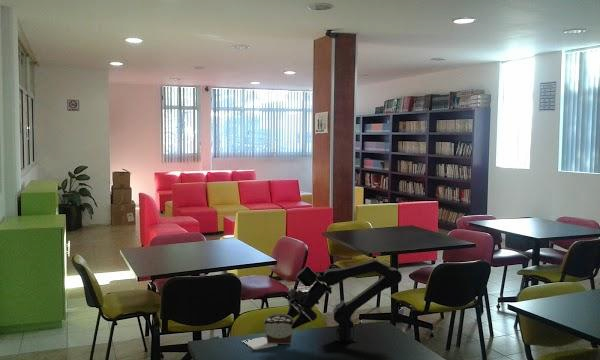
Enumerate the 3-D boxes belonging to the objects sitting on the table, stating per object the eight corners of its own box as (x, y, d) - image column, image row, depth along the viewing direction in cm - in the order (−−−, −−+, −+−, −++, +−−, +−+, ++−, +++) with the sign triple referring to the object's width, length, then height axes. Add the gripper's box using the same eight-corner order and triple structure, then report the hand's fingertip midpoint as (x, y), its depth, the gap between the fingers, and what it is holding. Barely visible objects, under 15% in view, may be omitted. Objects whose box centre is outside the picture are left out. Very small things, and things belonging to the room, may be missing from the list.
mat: (263, 337, 220) (263, 336, 220) (277, 345, 210) (277, 344, 210) (241, 341, 215) (241, 340, 215) (254, 350, 205) (254, 349, 205)
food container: (296, 336, 217) (295, 313, 214) (294, 344, 211) (294, 320, 208) (265, 335, 218) (265, 312, 215) (263, 343, 212) (263, 320, 209)
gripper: (293, 277, 221) (267, 306, 218) (309, 286, 204) (281, 317, 200) (310, 295, 224) (285, 324, 220) (328, 305, 206) (301, 336, 203)
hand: (288, 325), depth 211 cm, fingers open, 9 cm apart
